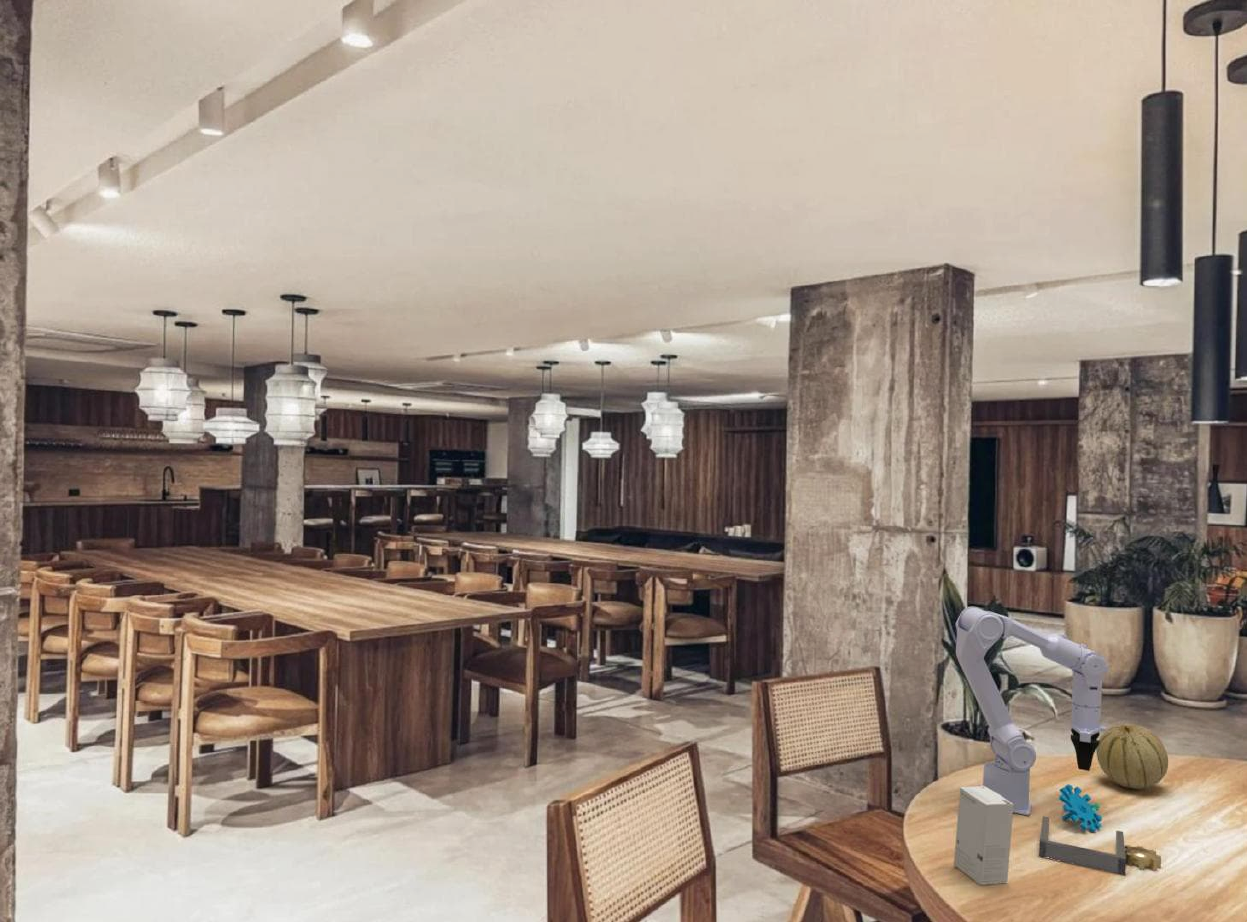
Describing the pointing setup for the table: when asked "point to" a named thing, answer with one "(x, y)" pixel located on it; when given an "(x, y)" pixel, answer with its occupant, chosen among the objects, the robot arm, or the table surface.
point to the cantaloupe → (1132, 756)
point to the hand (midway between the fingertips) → (1084, 766)
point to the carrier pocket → (1098, 854)
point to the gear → (1080, 808)
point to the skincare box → (983, 835)
